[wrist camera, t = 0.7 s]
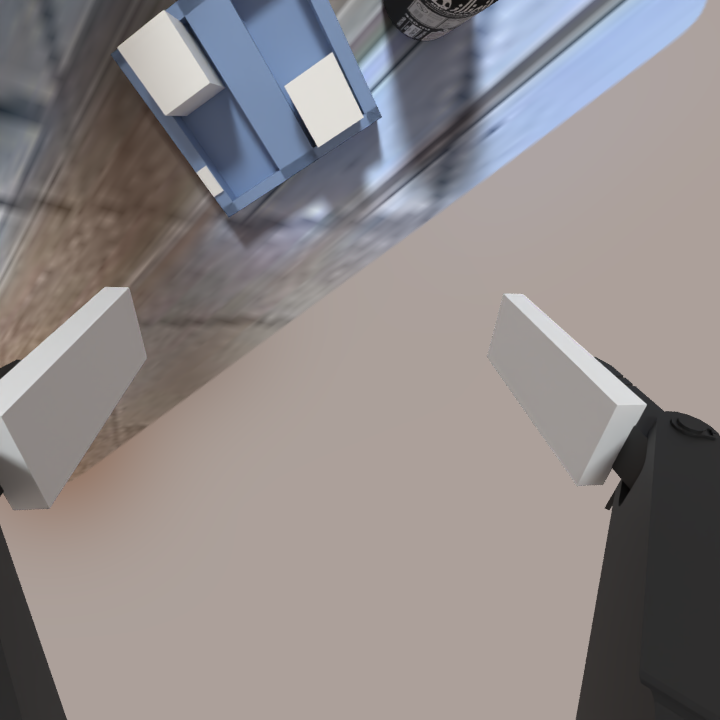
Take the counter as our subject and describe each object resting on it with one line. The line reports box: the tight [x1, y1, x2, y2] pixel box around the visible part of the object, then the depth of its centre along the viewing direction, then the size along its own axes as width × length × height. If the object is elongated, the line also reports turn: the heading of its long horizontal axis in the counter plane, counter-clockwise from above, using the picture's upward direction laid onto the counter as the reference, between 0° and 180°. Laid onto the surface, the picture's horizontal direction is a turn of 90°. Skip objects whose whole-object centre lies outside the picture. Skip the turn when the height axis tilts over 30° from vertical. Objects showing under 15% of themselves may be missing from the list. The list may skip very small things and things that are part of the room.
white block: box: [117, 10, 225, 116], centre depth 27 cm, size 4×4×5 cm
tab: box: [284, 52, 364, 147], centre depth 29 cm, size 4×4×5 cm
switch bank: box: [111, 0, 382, 217], centre depth 30 cm, size 12×14×3 cm
